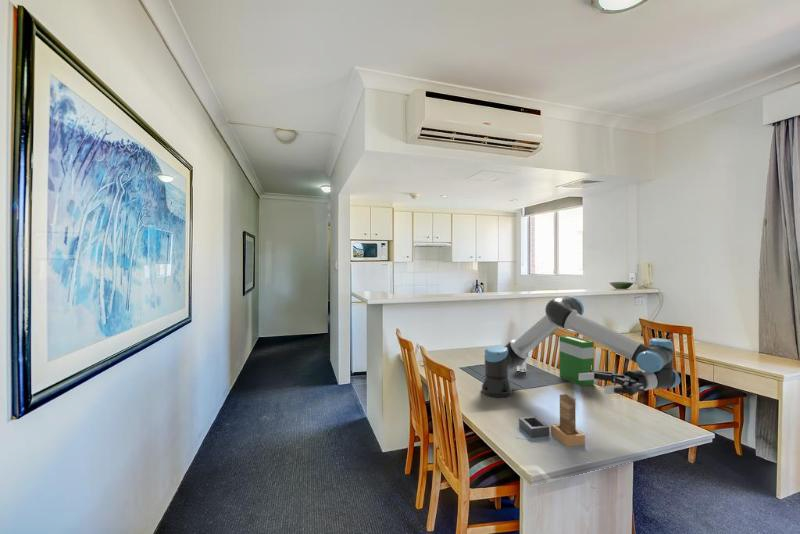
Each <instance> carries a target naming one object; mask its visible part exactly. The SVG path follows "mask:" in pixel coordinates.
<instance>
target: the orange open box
mask: <svg viewBox="0 0 800 534" xmlns="http://www.w3.org/2000/svg"><path fill="white" fill-rule="evenodd" d="M550 427H551V434H552V435H554V436H555V437H556V438H557V439H558V440H560V441H561V442H562V443H563V444H564V445H566V446H576V445H584V444H585V442H586V435H585V434H583V433H584V432H583V433H581V432H582V431H580V430H578V429H577V428H576V434H572V435H567V434H566V433H564V432H563V431H562V430H560V423H556V424H555V423H553V424H550Z"/></svg>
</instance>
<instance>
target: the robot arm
mask: <svg viewBox="0 0 800 534" xmlns="http://www.w3.org/2000/svg"><path fill="white" fill-rule="evenodd" d="M580 300H581V299H578V298H577V297H574V296H570V295H565V296H563V297H557V298H556V297H555V298H553V299H551V300H549V301H548V303H546V305H545V309H544V312H545V315H544V316H542V317H541V318H540V319H539V320H538V321H537V322H536V323H535V324H533V325H532V326H531V327H530V328H529V329H528V330H526V331H525V332H524V333H523V334H522V335H521V336H520V337H518V338H517V339H511V341H509V342H508V343H507V344H505V345H504V346H503V345H498V344H497V345H490V346H488V347H486V348H485V349H484V379H483V381H482V385H481V393H482V394H484V395H486V396H488V395H489V396H488V397H493V398H506V397H510V396H511V395H512V386H511V384H510V381H509V376H508V375H509V374H508V373H509V372H508V371H509V370H510V369H513V368H515V367H517V366H519V365H521V364H522V363H523V362H524V361H525V359H526V358H527V359H528V357H529V353H530V352H531V351H532V350H534V348H536V347H537V346H539V345H540V344H541V343H542V342H543V341H545V340H546V339H547V338H549V336H551V335H552V334H554V333H555V332H556V331H557V330H558V329H565V330H566V331H567V330H571V331H573V332H575V333H577V334H579V335H580V336H583V337H585V338H587V340H588V339H589V341H593V342H594V343H596V344H599V345H601V346H602V347H604V348H607V349H608V350H610V351H612V352H613V353H616V354H618V355H620V356H622V357H624V358H626V359H628V360H630V361H631V362H633V363H636V364H637V367H638V368H639V369H635V370H633V369H632V370H631V369H630V370H627V371H625V372H624V374H621V373H617V372H616V371H606V370H603V371H601V370H595V369H594V370H590V373H579V378H578V380H579V381H583V380H594V381H595V380H599V381H600V380H601V381H606V382H611V383H612V384H616V385H604V388H603V389H604V390H603V394H605V395H613V394H614V395H615V394H617V395H618V394H624V395H628V396H629V397H632V396H635V394H637V393H639V392H644V391H649V390H661V389H664V390H667V389H672V388H677V387H678V386H679V385H680V383H681V377H680V375H679V373H678V372H677V370H675V369H674V351H675V349H674V342H673V341H672V340H670V339H666V338H660V337H659V338H658V337H654V338H650V339H649V344H648V346H647V345H645V344H642V343H641V342H639V341H636V340H634V339H633V338H630V337H628V336H626V335H624V334H622V333H619V332H617V331H615V330H613V329H611V328H609V327H607V326H604V325H603V324H600V323H598V322H597V321H595V320H592V319H590V318H588V317H585V316H584V315H583V314H584V311H585V310H584V305H583V303H582V302H581V301H580Z"/></svg>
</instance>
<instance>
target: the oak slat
mask: <svg viewBox="0 0 800 534" xmlns="http://www.w3.org/2000/svg"><path fill="white" fill-rule="evenodd" d="M559 424H560V430H562V431H563V432H564V433H566V434H567V435H572V434H576V429H577V428H576V427H577V426H576V424H577V423H576V399H575V398H574V397H572V396H571V395H569V394H566V393H565V394H564V393H563V394H559Z"/></svg>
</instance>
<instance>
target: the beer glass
mask: <svg viewBox="0 0 800 534" xmlns="http://www.w3.org/2000/svg"><path fill="white" fill-rule="evenodd" d="M527 361H528V357H527V358H526V359H525V361H524V362H523V363H522V364H521V365H519V366H516V369H517V371H521V372H525V371H527ZM517 371H516V372H517ZM527 372H528V371H527Z"/></svg>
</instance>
